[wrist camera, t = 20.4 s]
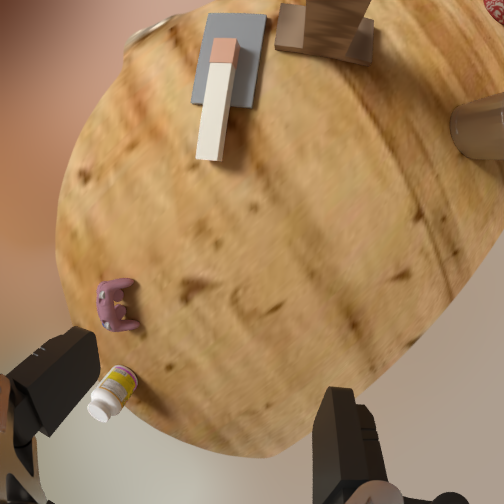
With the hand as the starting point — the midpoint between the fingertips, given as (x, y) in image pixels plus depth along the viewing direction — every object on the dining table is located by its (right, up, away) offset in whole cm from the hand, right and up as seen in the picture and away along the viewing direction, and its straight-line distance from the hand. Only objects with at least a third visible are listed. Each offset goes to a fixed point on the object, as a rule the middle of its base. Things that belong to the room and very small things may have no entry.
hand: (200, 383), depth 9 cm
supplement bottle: (-25, -22, +47) cm, 58 cm away
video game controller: (-21, -5, +42) cm, 48 cm away
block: (-3, +26, +30) cm, 40 cm away
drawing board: (-2, +33, +29) cm, 44 cm away
